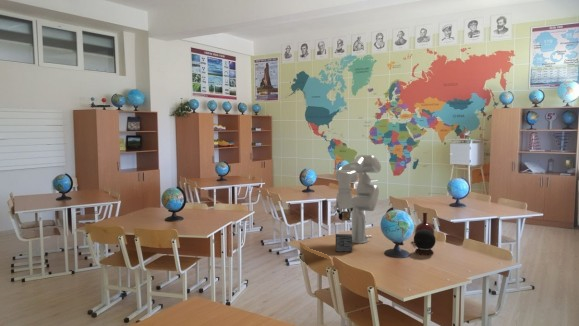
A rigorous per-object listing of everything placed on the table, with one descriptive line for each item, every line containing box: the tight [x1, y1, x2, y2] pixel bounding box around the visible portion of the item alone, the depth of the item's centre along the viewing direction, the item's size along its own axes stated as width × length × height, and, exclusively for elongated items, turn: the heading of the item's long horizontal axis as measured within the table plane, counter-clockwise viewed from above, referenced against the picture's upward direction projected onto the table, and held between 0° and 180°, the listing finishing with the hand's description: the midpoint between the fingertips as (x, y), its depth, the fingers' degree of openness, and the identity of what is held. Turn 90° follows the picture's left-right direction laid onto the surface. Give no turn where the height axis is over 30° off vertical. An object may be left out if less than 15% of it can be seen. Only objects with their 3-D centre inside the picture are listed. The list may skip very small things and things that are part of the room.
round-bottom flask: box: [414, 212, 436, 235], centre depth 289 cm, size 13×13×20 cm
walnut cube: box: [341, 210, 351, 222], centre depth 267 cm, size 5×5×5 cm
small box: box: [335, 233, 353, 253], centre depth 268 cm, size 11×6×10 cm, turn 84°
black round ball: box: [413, 229, 437, 256], centre depth 262 cm, size 13×13×15 cm
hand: (344, 218), depth 267 cm, fingers closed on walnut cube, 5 cm apart
